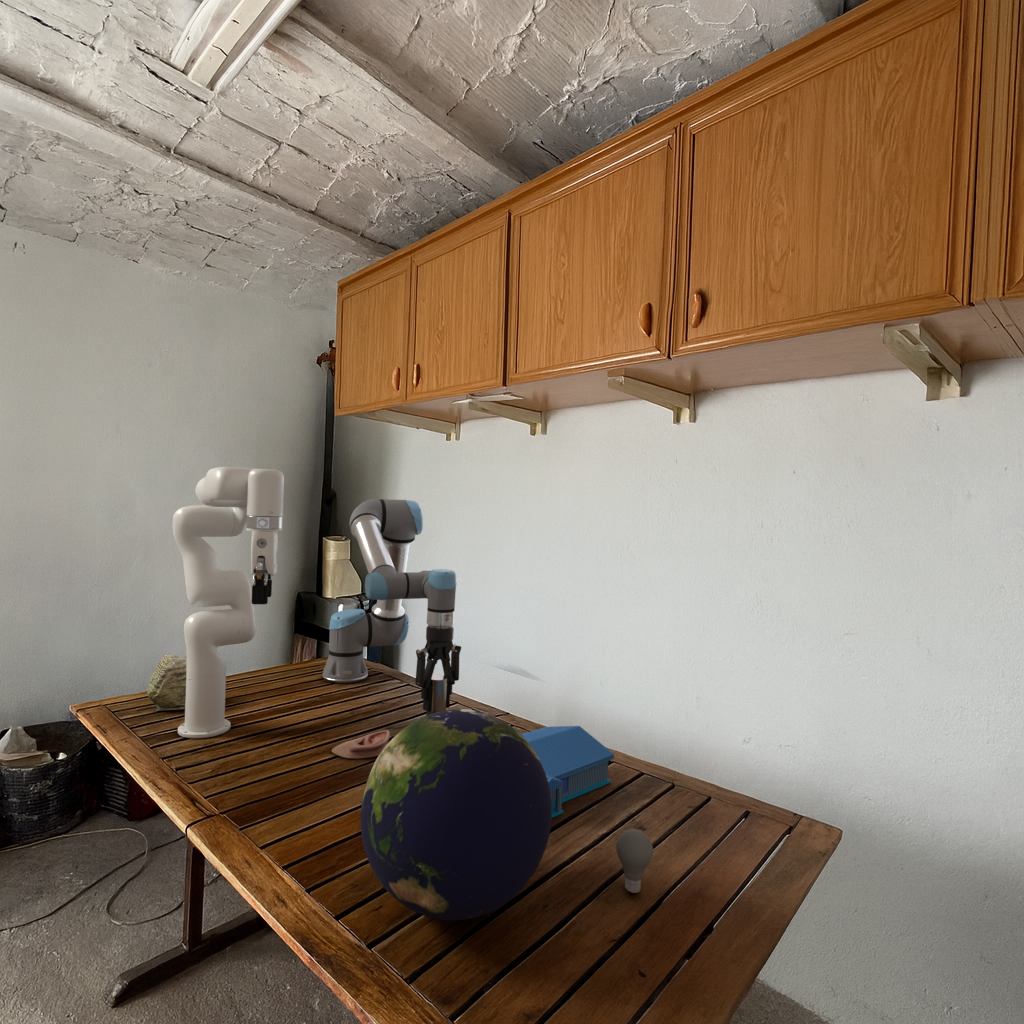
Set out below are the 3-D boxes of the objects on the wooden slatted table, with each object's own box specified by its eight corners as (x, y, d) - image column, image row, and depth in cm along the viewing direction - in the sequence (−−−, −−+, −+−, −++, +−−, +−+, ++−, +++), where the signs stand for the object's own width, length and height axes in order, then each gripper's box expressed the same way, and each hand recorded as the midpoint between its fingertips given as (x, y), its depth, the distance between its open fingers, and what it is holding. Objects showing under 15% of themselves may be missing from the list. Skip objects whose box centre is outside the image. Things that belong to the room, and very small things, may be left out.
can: (434, 722, 172) (436, 681, 172) (422, 716, 176) (423, 676, 176) (449, 717, 176) (451, 677, 176) (437, 712, 180) (439, 673, 179)
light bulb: (610, 879, 108) (613, 822, 108) (644, 879, 109) (647, 822, 109) (619, 902, 102) (622, 840, 102) (655, 901, 103) (658, 840, 103)
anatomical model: (326, 739, 154) (347, 723, 165) (325, 755, 154) (346, 738, 166) (377, 746, 152) (395, 729, 163) (376, 762, 152) (394, 744, 163)
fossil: (144, 707, 182) (145, 655, 182) (212, 696, 194) (213, 647, 194) (151, 716, 175) (153, 662, 175) (221, 703, 188) (223, 653, 188)
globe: (314, 931, 92) (322, 727, 92) (419, 834, 120) (426, 677, 120) (503, 1000, 81) (513, 769, 81) (570, 876, 109) (578, 703, 108)
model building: (492, 844, 118) (494, 791, 118) (418, 795, 136) (419, 748, 136) (622, 787, 144) (624, 743, 144) (546, 752, 162) (547, 713, 162)
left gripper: (279, 526, 134) (276, 607, 135) (284, 523, 151) (282, 594, 151) (241, 525, 132) (238, 607, 133) (251, 521, 149) (248, 594, 149)
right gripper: (418, 632, 166) (414, 719, 167) (475, 625, 178) (471, 706, 179) (404, 626, 172) (400, 710, 173) (460, 620, 184) (456, 698, 185)
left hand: (261, 600), depth 142 cm, fingers open, 9 cm apart
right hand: (436, 708), depth 176 cm, fingers closed on can, 5 cm apart
